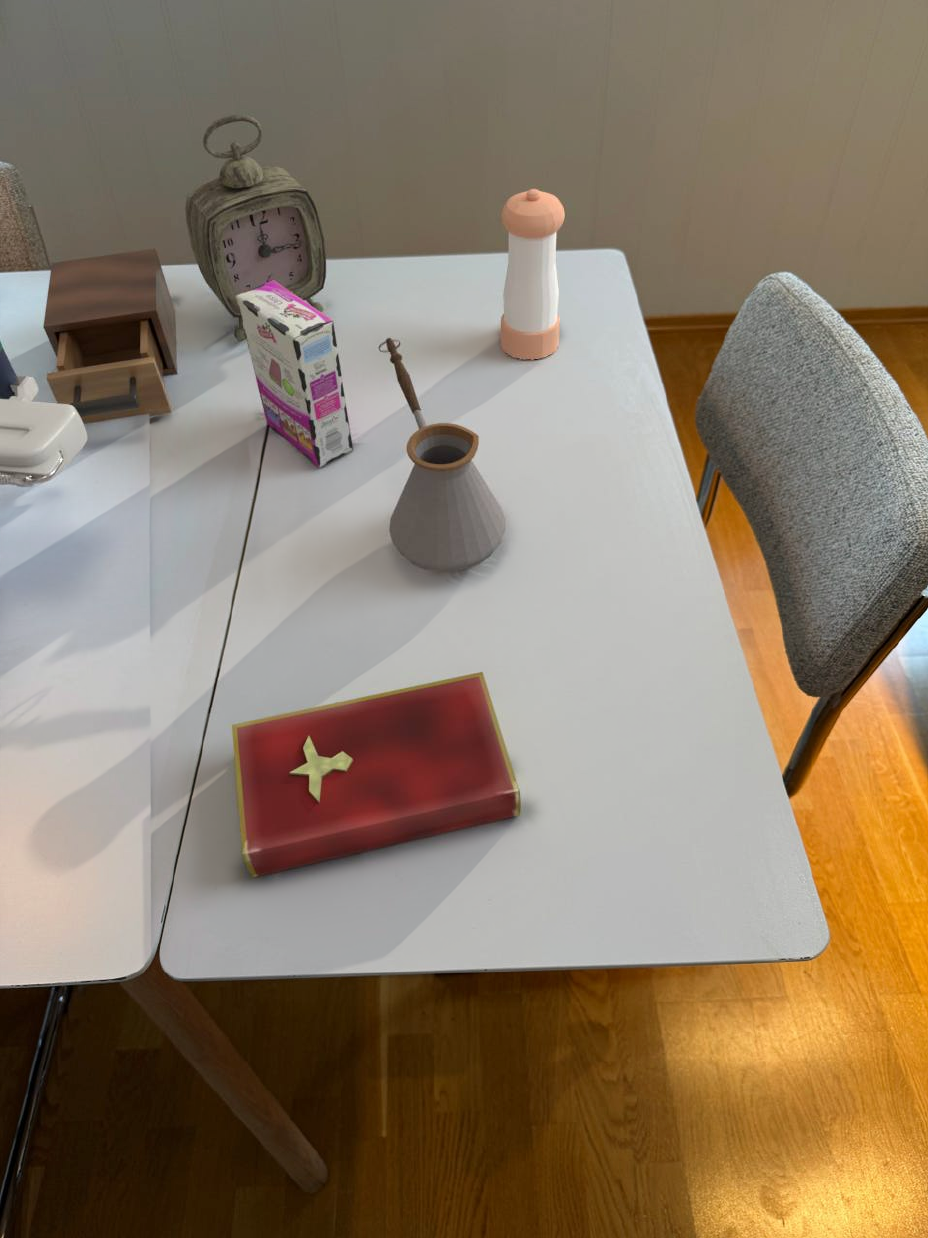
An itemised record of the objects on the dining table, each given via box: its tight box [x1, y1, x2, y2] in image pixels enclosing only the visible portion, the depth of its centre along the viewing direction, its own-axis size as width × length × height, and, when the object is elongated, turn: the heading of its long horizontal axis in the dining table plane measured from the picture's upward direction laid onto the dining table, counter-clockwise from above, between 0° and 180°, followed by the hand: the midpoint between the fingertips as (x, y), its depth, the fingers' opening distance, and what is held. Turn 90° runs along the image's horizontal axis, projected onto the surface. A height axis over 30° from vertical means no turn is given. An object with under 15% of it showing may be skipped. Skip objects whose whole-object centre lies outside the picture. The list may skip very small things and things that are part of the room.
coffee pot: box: [377, 337, 506, 574], centre depth 88 cm, size 21×12×15 cm, turn 21°
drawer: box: [46, 318, 172, 425], centre depth 104 cm, size 19×12×7 cm, turn 13°
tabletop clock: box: [185, 113, 327, 342], centre depth 109 cm, size 14×9×25 cm, turn 120°
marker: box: [0, 341, 17, 399], centre depth 86 cm, size 3×3×15 cm
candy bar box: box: [236, 280, 354, 469], centre depth 96 cm, size 11×5×16 cm, turn 41°
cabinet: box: [42, 248, 178, 377], centre depth 112 cm, size 15×13×9 cm
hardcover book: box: [231, 671, 522, 878], centre depth 72 cm, size 12×21×4 cm, turn 103°
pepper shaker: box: [500, 188, 566, 361], centre depth 105 cm, size 7×7×19 cm
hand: (9, 380), depth 86 cm, fingers closed on marker, 2 cm apart
